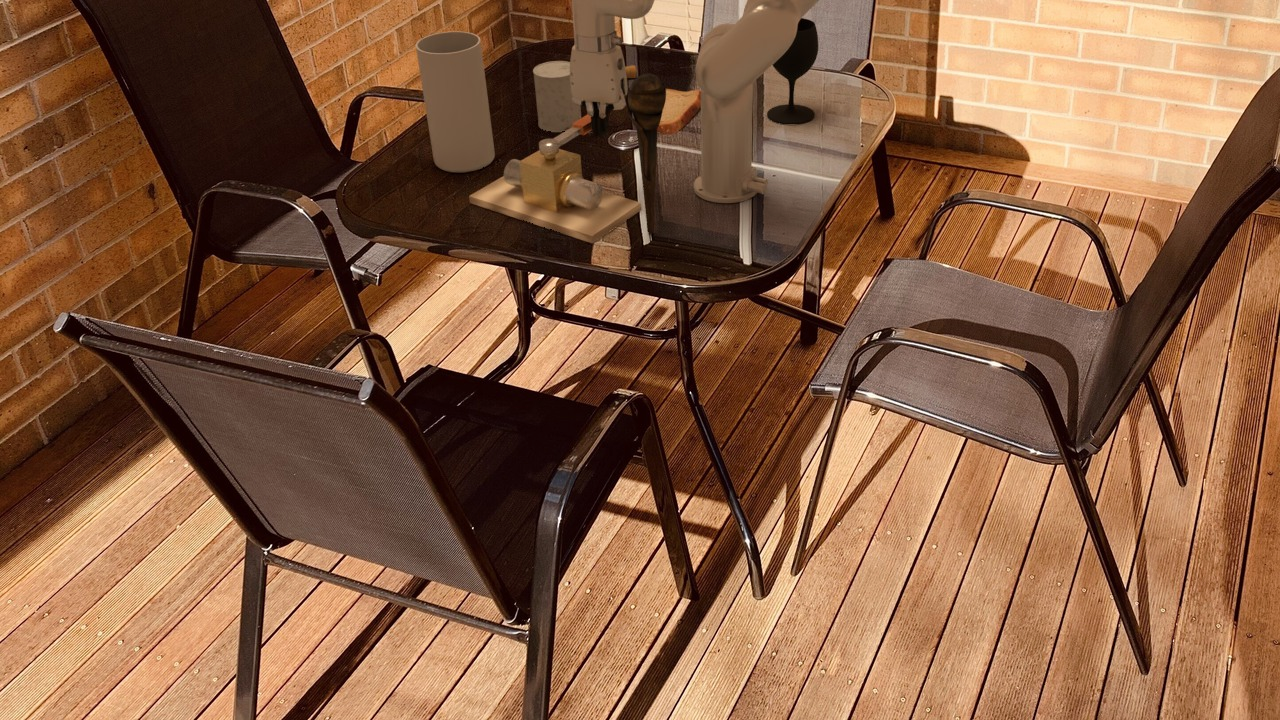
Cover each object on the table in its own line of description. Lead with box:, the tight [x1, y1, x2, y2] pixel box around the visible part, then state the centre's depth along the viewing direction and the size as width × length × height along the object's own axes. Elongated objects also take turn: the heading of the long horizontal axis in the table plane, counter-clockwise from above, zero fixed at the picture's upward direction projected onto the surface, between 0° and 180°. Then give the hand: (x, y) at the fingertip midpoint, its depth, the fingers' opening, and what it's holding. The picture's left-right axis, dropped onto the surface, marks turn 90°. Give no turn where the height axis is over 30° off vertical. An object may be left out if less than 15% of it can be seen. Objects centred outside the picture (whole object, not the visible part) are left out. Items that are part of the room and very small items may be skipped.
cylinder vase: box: [415, 30, 496, 174], centre depth 227 cm, size 12×12×25 cm
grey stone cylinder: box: [532, 60, 582, 133], centre depth 245 cm, size 10×10×12 cm
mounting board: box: [468, 175, 642, 244], centre depth 216 cm, size 30×15×2 cm, turn 54°
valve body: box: [503, 148, 604, 213], centre depth 213 cm, size 20×8×10 cm, turn 54°
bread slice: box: [657, 88, 701, 135], centre depth 249 cm, size 18×18×4 cm
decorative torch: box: [625, 72, 667, 235], centre depth 197 cm, size 7×7×30 cm
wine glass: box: [766, 17, 819, 125], centre depth 241 cm, size 10×10×20 cm
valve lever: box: [538, 113, 593, 156], centre depth 214 cm, size 17×4×2 cm, turn 146°
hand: (600, 134), depth 216 cm, fingers closed
